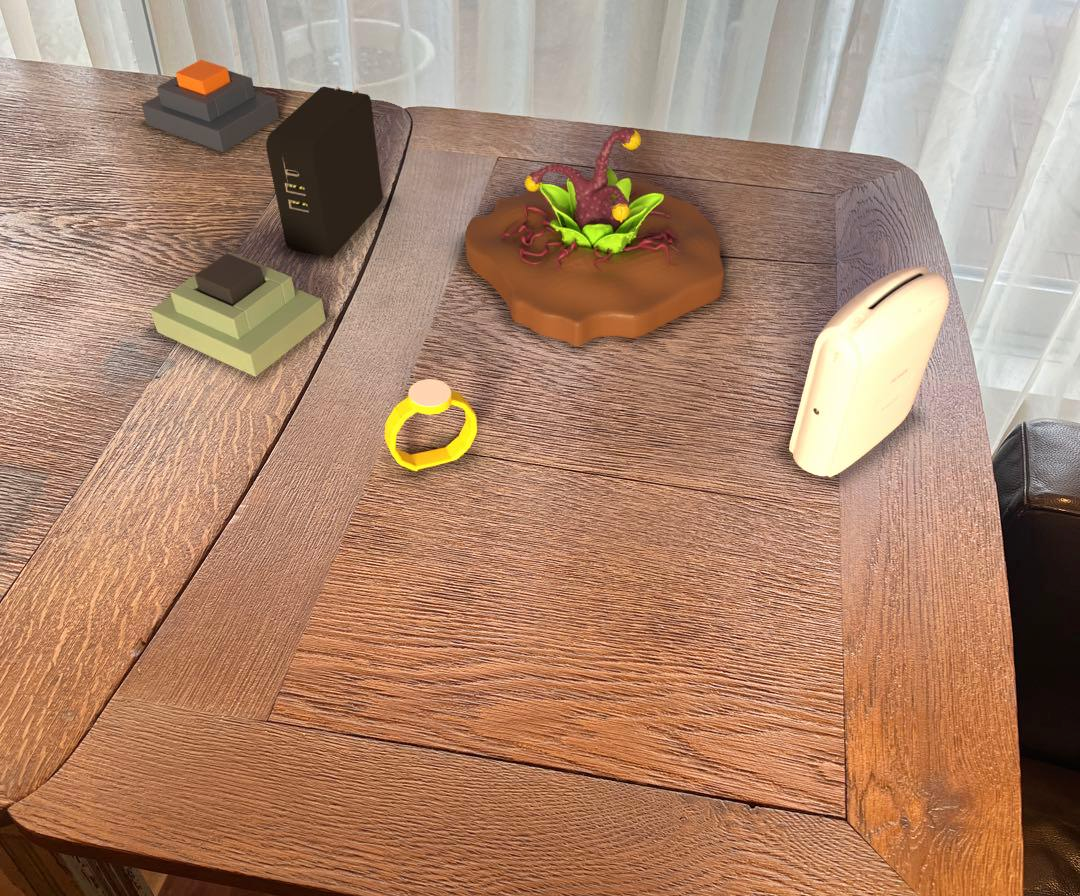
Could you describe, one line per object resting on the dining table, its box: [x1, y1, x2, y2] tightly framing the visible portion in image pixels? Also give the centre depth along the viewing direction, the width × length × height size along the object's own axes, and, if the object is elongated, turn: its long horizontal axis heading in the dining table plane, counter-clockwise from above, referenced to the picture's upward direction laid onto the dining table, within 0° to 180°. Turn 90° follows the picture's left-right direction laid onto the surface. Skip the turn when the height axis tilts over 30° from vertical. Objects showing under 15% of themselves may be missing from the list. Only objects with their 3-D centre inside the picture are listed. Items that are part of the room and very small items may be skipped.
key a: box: [194, 252, 264, 306], centre depth 76 cm, size 3×3×2 cm
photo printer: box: [788, 265, 950, 478], centre depth 67 cm, size 10×4×12 cm, turn 133°
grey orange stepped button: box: [141, 70, 280, 153], centre depth 99 cm, size 10×8×4 cm
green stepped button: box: [149, 251, 327, 378], centre depth 78 cm, size 10×8×4 cm
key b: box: [175, 59, 230, 96], centre depth 98 cm, size 3×3×2 cm
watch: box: [384, 378, 478, 472], centre depth 67 cm, size 6×3×6 cm, turn 113°
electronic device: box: [265, 86, 383, 258], centre depth 85 cm, size 4×10×10 cm, turn 160°
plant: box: [464, 127, 725, 347], centre depth 81 cm, size 20×20×11 cm
